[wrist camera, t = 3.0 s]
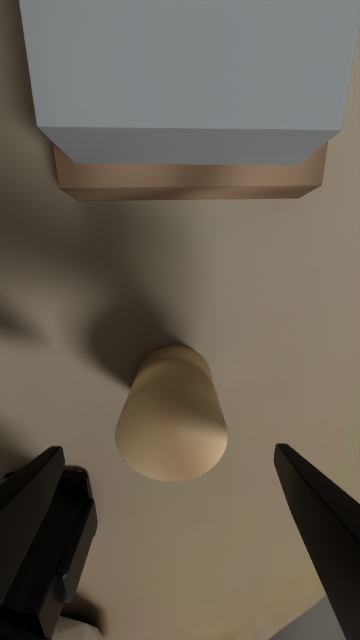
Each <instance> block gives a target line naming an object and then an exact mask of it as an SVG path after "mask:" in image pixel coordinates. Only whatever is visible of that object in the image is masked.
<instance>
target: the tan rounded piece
mask: <svg viewBox="0 0 360 640" xmlns="http://www.w3.org/2000/svg"><path fill="white" fill-rule="evenodd" d="M115 438H116V445H117V448H118V451H119V453H120V455H121V456H122V458H123V459H124V461H125V462H126V463H127V464H128V465H129V466H130V467H131V468H132V469H134V470H135V471H137V472H138V473H140V474H142V475H144V476H146V477H148V478H151V479H155V480H159V481H165V482H178V481H185V480H189V479H193V478H195V477H198V476H200V475H202V474H204V473H206V472H207V471H209V470H210V469H211V468H212V467H213V466H215V465H216V463H217V462H218V461H219V460H220V458H221V457H222V455H223V453H224V451H225V448H226V445H227V427H226V424H225V420H224V417H223V413H222V410H221V407H220V403H219V400H218V396H217V393H216V389H215V386H214V383H213V379H212V376H211V372H210V369H209V366H208V364H207V362H206V361H205V360H204V358H203V357H202V356H201V355H200V354H199V353H197V352H196V351H194V350H193V349H190V348H188V347H185V346H180V345H168V346H163V347H160V348H158V349H156V350H154V351H152V352H151V353H150V354H148V355H147V356H146V357H145V359H144V360H143V361H142V363H141V365H140V367H139V370H138V372H137V375H136V377H135V380H134V382H133V385H132V387H131V390H130V392H129V395H128V397H127V400H126V402H125V405H124V407H123V410H122V412H121V415H120V418H119V420H118V423H117V426H116V432H115Z"/></svg>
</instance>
